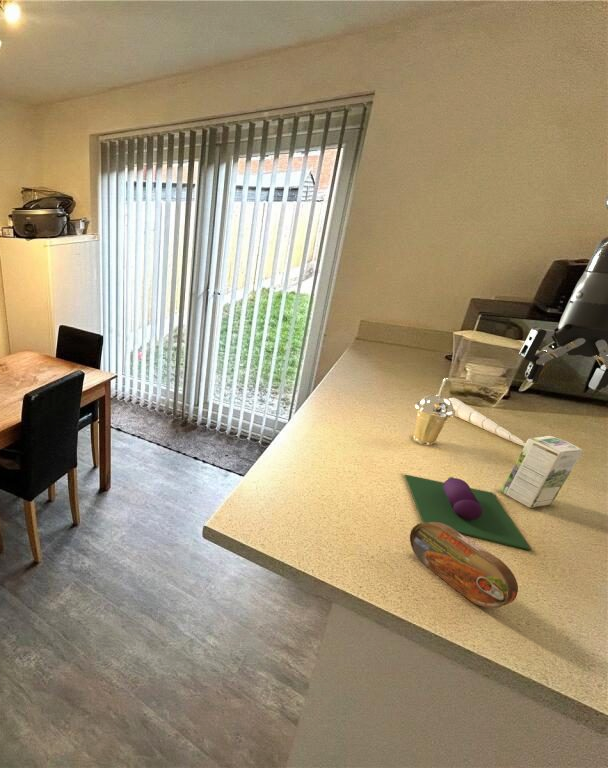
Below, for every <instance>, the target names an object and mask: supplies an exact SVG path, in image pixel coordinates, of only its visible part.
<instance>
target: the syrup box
mask: <svg viewBox="0 0 608 768" xmlns="http://www.w3.org/2000/svg"><path fill="white" fill-rule="evenodd" d="M525 443H526V444H525V446H523V448H522V450H521V452H520V454H519V456H518V457H517V460H516V462H515V464H514V466H513V467H512V469H511V471H510V474H509V476H508V477H507V479H506V481H505V483H504V485H503V486H502V489H501V493H502V494H504V495H506V496H508V497H509V498H511V499H513V500H515V501H517V502H518V503H520V504H522V505H524V506H526V507H528V508H529V509H534V508H539V507H545V506H546V507H547V506H551V505H552V504H553V502H554V501H555V499H556V497H557V496H558V494H559V492H560V491H561V489H562V488H563V486H564V484H565V483H566V480H567V479H568V477H569V476H570V474H571V472H572V471H573V469H574V467H575V465H576V464H577V462H578V460H579V458H580V457H581V455H582V453H583V452H584V450H583V449H582V448H580V447H579V446H576V445H575V444H573V443H571V442H568V441H566V440H564V439H562V438H558V437H555V436H553V435H545V436H538V437H537V436H536V437H530V438H528V439H527V440H526V442H525Z"/></svg>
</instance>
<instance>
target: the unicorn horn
mask: <svg viewBox="0 0 608 768" xmlns="http://www.w3.org/2000/svg"><path fill="white" fill-rule="evenodd" d="M448 399H449V400H450V401H451V403H452V405H453V409H454V410H455V416H454V417H457V418H459V419H461V420H463V421H466V422H467V423H470V424H471V425H474V426H476V427H478V428H481V429H483V430H485V431H487V432H489V433H491V434H493V435H495V436H498V437H500V438H503V439H505V440H507V441H510V442H512V443H515V444H517V445H520V446H521V447H524V446H525V444H526V442H524V441H523V440H522V439H521V438H519V437H517V436H516V435H515V434H511V432H510V431H508V430H507V429H505V428H504V427H502V426H499V424H498V423H496V422H494V421H493V420H491V419H490V418H487V417H486V416H485V415H483V414H482V413H480V412H479V411H477V410H476V409H474V408H472V407H471V406H469V405H468V404H465V403H464V402H463V401H461V400H460V399H458V398H456V397H450V398H448Z"/></svg>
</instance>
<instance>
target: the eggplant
mask: <svg viewBox="0 0 608 768" xmlns="http://www.w3.org/2000/svg"><path fill="white" fill-rule="evenodd" d="M443 483H444V484H443V490H444V492H445V494H446V496H447V498H448V500H449V502H450V504H451V506H452V508H453V510H454V512H455V513H456V514H457V515H458V516H459V517H461V518H463V519H466V520H475V519H478V518H479V517H480V516H481V515H482V507H481V505H480V504H479V502H478V500H477V499H476V497H475V495H474V494H473V492H472V490H471V489H470V488H471V487H470V485H469V484H468V483H467V482H466V481H465V480H463V479H462V478H461V479H460V478H457V477H453V476H449V477H448V478H447V479H446V480H445V481H444V482H443Z"/></svg>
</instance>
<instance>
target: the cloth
mask: <svg viewBox="0 0 608 768" xmlns="http://www.w3.org/2000/svg"><path fill="white" fill-rule="evenodd" d="M404 477H405V479H406V482H407V486H408V487H409V491H410V493H411V496H412V499H413V500H414V503H415V505H416V508H417V511H418V513H419V516H420V519H421V521H422V523H429V522H438V523H443V524H446V525H448V526H450V527H451V528H453V529H454V530H456V531H458V532H459V533H461V534H462V535H464V536H469V537H472V538H477V539H480V540H484V541H488V542H493V543H496V544H499V545H504V546H509V547H513V548H518V549H521V550H525V551H528V552H530V551H531V548H530V546H529V545H528V543H527V541H526V540H525V539H524V537H523V535H522V534H521V533H520V531H519V530H518V528H517V527H516V525H515V524H514V522H513V521H512V519H511V517H510V516H509V515H508V513H507V512H506V511H505V509H504V508H503V506H502V505H501V503H500V501H499V500H498V498H497V497H496V495H495V494H494V493H493V492H491V491H486V490H481V489H477V488H471V487H470V489H471V490H472V492H473V494H474V495H475V497H476V499H477V500H478V502H479V504H480V505H481V507H482V515H481V516H480V517H479V518H478V519H475V520H466V519H463V518H461V517H459V516H458V515H457V514H456V513H455V512H454V510H453V508H452V506H451V504H450V502H449V500H448V498H447V496H446V494H445V492H444V490H443V484H444V482H443V481H438V480H433V479H428V478H423V477H418V476H414V475H409V474H405V475H404Z"/></svg>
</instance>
